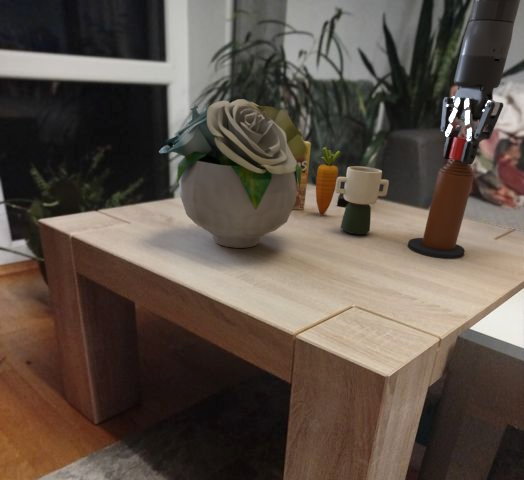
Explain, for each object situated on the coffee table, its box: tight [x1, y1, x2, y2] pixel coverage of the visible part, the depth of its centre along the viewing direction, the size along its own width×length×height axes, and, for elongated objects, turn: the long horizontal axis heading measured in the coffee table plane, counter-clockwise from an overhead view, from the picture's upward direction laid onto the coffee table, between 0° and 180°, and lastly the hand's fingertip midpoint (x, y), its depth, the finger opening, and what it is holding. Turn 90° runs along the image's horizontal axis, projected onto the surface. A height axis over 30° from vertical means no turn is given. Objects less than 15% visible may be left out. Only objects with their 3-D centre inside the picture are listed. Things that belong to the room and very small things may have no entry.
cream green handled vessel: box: [334, 165, 390, 235], centre depth 104 cm, size 11×7×13 cm, turn 93°
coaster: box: [407, 237, 466, 259], centre depth 100 cm, size 11×11×1 cm
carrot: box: [315, 146, 341, 216], centre depth 115 cm, size 5×5×15 cm
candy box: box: [292, 140, 312, 211], centre depth 119 cm, size 9×4×15 cm, turn 100°
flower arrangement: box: [158, 98, 307, 249], centre depth 89 cm, size 25×25×24 cm
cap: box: [449, 136, 468, 160], centre depth 92 cm, size 4×4×4 cm
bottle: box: [422, 159, 475, 250], centre depth 96 cm, size 6×6×19 cm
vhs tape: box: [336, 187, 349, 208], centre depth 134 cm, size 8×14×2 cm, turn 168°
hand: (457, 160), depth 92 cm, fingers open, 5 cm apart
